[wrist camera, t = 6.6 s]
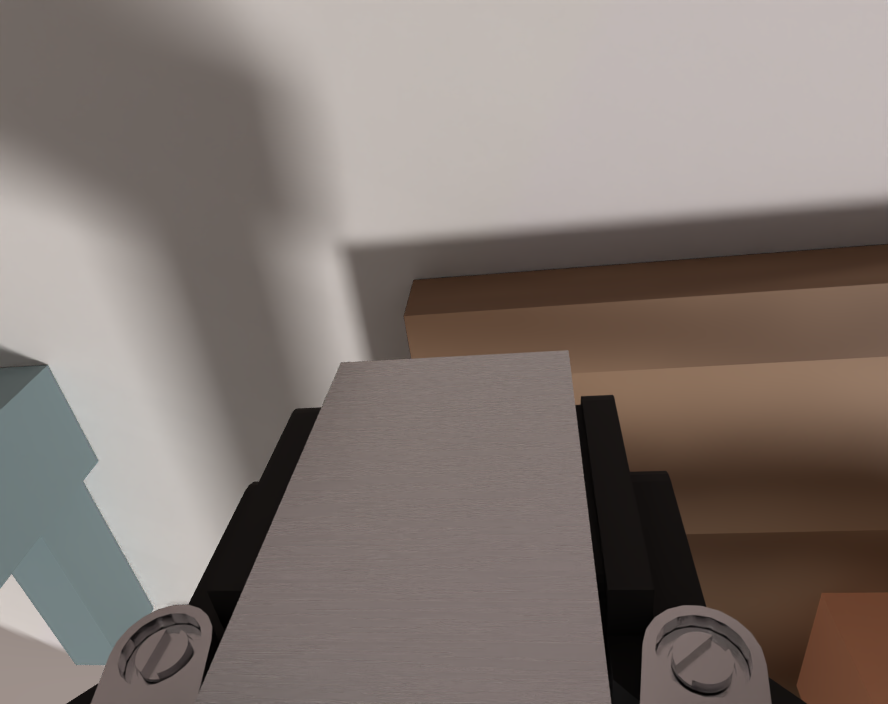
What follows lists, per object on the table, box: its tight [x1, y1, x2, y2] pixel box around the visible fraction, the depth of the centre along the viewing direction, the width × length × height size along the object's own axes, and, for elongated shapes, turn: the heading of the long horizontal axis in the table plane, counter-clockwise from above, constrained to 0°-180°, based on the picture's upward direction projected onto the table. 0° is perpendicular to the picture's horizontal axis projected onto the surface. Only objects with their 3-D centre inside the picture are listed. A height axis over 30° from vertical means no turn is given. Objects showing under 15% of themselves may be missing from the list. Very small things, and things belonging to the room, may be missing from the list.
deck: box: [404, 244, 888, 700], centre depth 21 cm, size 21×24×2 cm
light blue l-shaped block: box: [0, 365, 153, 665], centre depth 22 cm, size 12×4×6 cm, turn 7°
